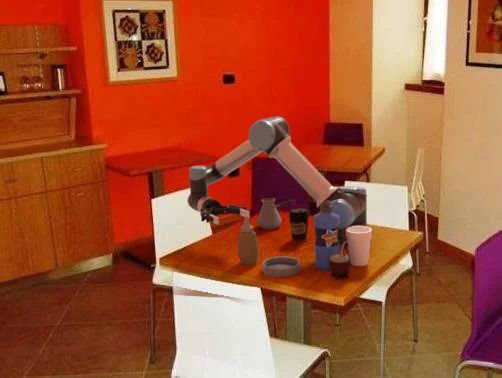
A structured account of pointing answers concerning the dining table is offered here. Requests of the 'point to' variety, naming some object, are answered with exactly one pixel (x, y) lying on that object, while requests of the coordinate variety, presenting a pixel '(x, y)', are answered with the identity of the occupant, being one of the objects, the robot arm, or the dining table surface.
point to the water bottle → (326, 236)
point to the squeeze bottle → (247, 244)
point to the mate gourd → (339, 264)
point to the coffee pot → (270, 214)
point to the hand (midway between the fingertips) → (233, 218)
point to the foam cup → (359, 244)
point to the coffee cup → (299, 224)
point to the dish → (281, 266)
